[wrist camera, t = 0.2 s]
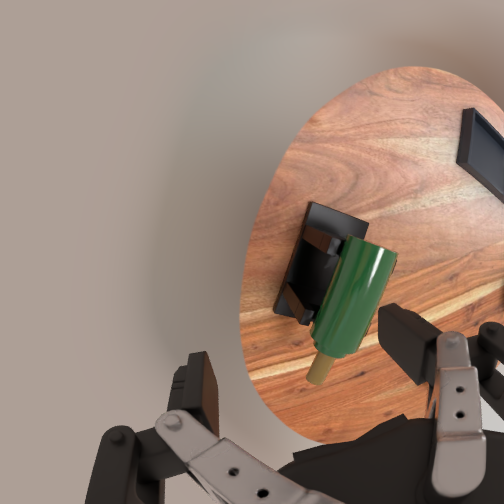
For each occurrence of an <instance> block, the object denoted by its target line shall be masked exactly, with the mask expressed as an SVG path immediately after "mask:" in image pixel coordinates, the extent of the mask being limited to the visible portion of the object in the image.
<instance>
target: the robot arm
mask: <svg viewBox="0 0 504 504" xmlns="http://www.w3.org/2000/svg"><path fill="white" fill-rule="evenodd" d="M378 340H379V343H380V345H381V347H382V348H383V349H384V350H385V351H386V352H387V353H388V354H389V355H390V356H391V358H392V359H393V360H394V361H395V362H396V363H397V364H398V365H399V366H400V367H401V368H402V369H403V370H404V371H405V373H406V374H407V375H408V376H409V377H410V378H411V379H412V380H413V381H414V382H415V383H416V384H417V386H418V385H420V384H422V383H424V382H426V381H427V382H428V383H429V384H428V389H427V400H426V410H425V418H416V419H410V420H408V419H407V418H406V416H405V415H404V414H401V415H399V416H397V417H395V418H392V419H390V420H388V421H386V422H383V423H381V424H379V425H377V426H376V427H374V428H373V429H372V430H370V431H369V432H367V433H365V434H364V435H362V436H361V437H359V438H358V439H356V440H354V441H349V442H342V443H334V444H326V445H320V446H317V447H313V448H310V449H306V450H303V451H299V452H295V453H293V458H294V461H292V462H290V463H288V464H287V465H285V466H283V467H282V468H280V469H279V470H277V471H275V470H273V469H272V468H270V467H269V466H267V465H265V464H264V463H262V462H261V461H259V460H258V459H256V458H255V457H253V456H252V455H250V454H249V453H248V452H246V451H245V450H243V449H242V448H240V447H239V446H238V445H236V444H235V443H234V442H232V441H231V440H229V439H227V438H223V439H219V407H218V385H217V381H216V377H215V375H214V372H213V369H212V366H211V363H210V360H209V357H208V354H207V352H206V351H203V352H198V353H191V354H189V358H188V364H187V365H186V366H180V367H179V368H178V370H177V371H176V372H175V374H174V377H173V383H172V387H171V392H170V397H169V402H168V407H167V412H166V413H164V414H162V415H161V416H160V417H159V418H158V419H157V421H156V423H155V427H153V428H150V429H147V430H144V431H140V432H137V433H135V432H134V431H133V430H132V429H131V428H130V427H128V426H115V427H112V428H110V429H109V430H107V431H106V432H105V433H104V435H103V436H102V439H101V442H100V446H99V449H98V453H97V456H96V460H95V464H94V467H93V471H92V475H91V479H90V483H89V487H88V491H87V495H86V500H85V504H164V499H165V479H166V478H169V477H173V476H176V475H179V474H182V473H186V474H187V475H188V476H189V477H190V478H191V479H192V480H193V481H194V482H195V483H196V484H197V485H198V486H199V487H200V488H201V489H202V490H203V491H204V492H205V493H206V494H207V495H208V496H210V497H211V498H212V499H213V500H214V501H215V502H216V503H217V504H504V433H501V432H495V431H490V430H483V429H482V415H481V401H480V396H481V397H482V398H483V399H484V400H485V401H486V402H487V403H488V404H489V405H490V406H491V407H492V408H493V410H494V411H495V412H496V413H497V414H498V415H499V416H500V417H501V418H502V419H503V420H504V376H503V375H502V374H501V373H500V372H499V371H497V370H496V369H495V368H496V365H497V362H498V360H499V361H500V362H501V363H502V364H503V365H504V326H503V325H501V324H499V323H497V322H486V323H483V324H482V325H481V326H480V328H479V333H478V335H476V336H472V337H468V338H466V337H465V336H464V335H463V334H461V333H459V332H454V331H449V332H445V333H443V332H442V331H440V330H439V329H437V328H436V327H435V326H433V325H432V324H431V323H429V322H427V321H426V320H425V319H424V318H421V316H419V315H418V314H417V313H415V312H413V311H410V310H407V309H403V308H401V307H400V306H398V305H397V304H396V303H391V304H388V305H385V306H382V307H380V308H379V310H378Z"/></svg>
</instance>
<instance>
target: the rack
mask: <svg viewBox="0 0 504 504" xmlns="http://www.w3.org/2000/svg"><path fill="white" fill-rule="evenodd" d="M368 226H369V223H368V222H365V221H363V220H360V219H357V218H355V217H352V216H350V215H347V214H344V213H342V212H339V211H337V210H334V209H331V208H328V207H326V206H323V205H320V204H317V203H315V202H310V203H309V206H308V209H307V212H306V216H305V219H304V222H303V225H302V228H301V231H300V234H299V237H298V240H297V243H296V246H295V249H294V252H293V254H292V257H291V260H290V263H289V266H288V269H287V272H286V275H285V277H284V280H283V283H282V286H281V289H280V292H279V294H278V297H277V300H276V303H275V305H274V308H273V312H274V313H275V314H280V315H284V316H289V317H293V318H296V319H297V321H298V322H299V324H301V325H306V326H309V324H310V322H311V321H312V322H314V320H315V317H316V315H317V312H318V310H319V307H320V305H321V303H322V300H323V298H324V295H325V292H326V290H327V287H328V285H329V282H330V279H331V277H332V274H333V271H334V269H335V266H336V263H337V261H338V258H339V255H340V252H341V249H342V247H343V244H344V241H345V238H346V235H347V234H350V235H353V236H356V237H359V238H362V239H364V238H365V235H366V232H367V229H368ZM396 262H397V260H396ZM395 265H396V263H395ZM395 265H394V267H395ZM393 270H394V268H393ZM392 273H393V271H392ZM392 273H391V274H392ZM370 325H371V323H370ZM369 327H370V326H369ZM368 330H369V328H368ZM368 330H367V332H368ZM367 332H366V334H367ZM366 334H365V336H366Z"/></svg>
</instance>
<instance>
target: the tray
mask: <svg viewBox="0 0 504 504" xmlns="http://www.w3.org/2000/svg"><path fill="white" fill-rule="evenodd" d="M456 163H457V164H458V165H459V166H461V167H462V168H463V169H465V170H466V171H467V172H468V173H470V174H471V175H472V176H473V177H474V178H476V179H477V180H478V181H479V182H480V183H482V184H483V185H484V186H485V187H486V188H487V189H489V190H490V191H491V192H492V193H493V194H494V195H495V196H496V197H497V198H498V199H499V200H501V201H502V202H503V203H504V138H503V137H502V136H501V135H500V133H499V132H498V131H497V130H496V129H495V128H494V127H493V126H492V125H491V124H490V123H489V122H488V121H487V120H486V119H485V118H484V117H483V116H482V115H481V114H480V113H479V112H478V111H477V110H476V109H475V108H469V109H464V110H463V119H462V128H461V136H460V143H459V150H458V156H457V162H456Z"/></svg>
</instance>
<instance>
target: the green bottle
mask: <svg viewBox="0 0 504 504" xmlns="http://www.w3.org/2000/svg"><path fill="white" fill-rule="evenodd" d="M397 257H398V253H397V252H395V251H393V250H390V249H388V248H385V247H383V246H380V245H378V244H375V243H372V242H370V241H367V240H364V239H362V238H359V237H356V236H353V235H350V234H347V235H346V238H345V241H344V244H343V247H342V249H341V252H340V255H339V258H338V261H337V263H336V266H335V269H334V271H333V274H332V277H331V279H330V282H329V285H328V287H327V290H326V292H325V295H324V298H323V300H322V303H321V305H320V307H319V310H318V312H317V315H316V317H315V320H314V322H313V324H312V327H311V329H310V335H311V337H312V338H313V339H314V342H313V344H314V346H315V348H316V349H317V350H318V352H317V354H316V356H315V358H314V361H313V363H312V365H311V367H310V369H309V371H308V373H307V375H306V379H307V381H308V382H310V383H311V384H314V385H322V384H323V382H324V381H325V379H326V377H327V375H328V373H329V371H330V369H331V367H332V365H333V363H334V361H335V359H336V358H344V357H345V356H346V355H347V354H353V353H355V352H357V350H358V348H359V346H360V344H361V342H362V340H363V338H364V336H365V334H366V332H367V330H368V328H369V326H370V323H371V321H372V319H373V317H374V315H375V312H376V310H377V308H378V305H379V303H380V301H381V298H382V296H383V293H384V291H385V289H386V286H387V284H388V281H389V278H390V276H391V273H392V271H393V268H394V265H395V263H396V260H397Z"/></svg>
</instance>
